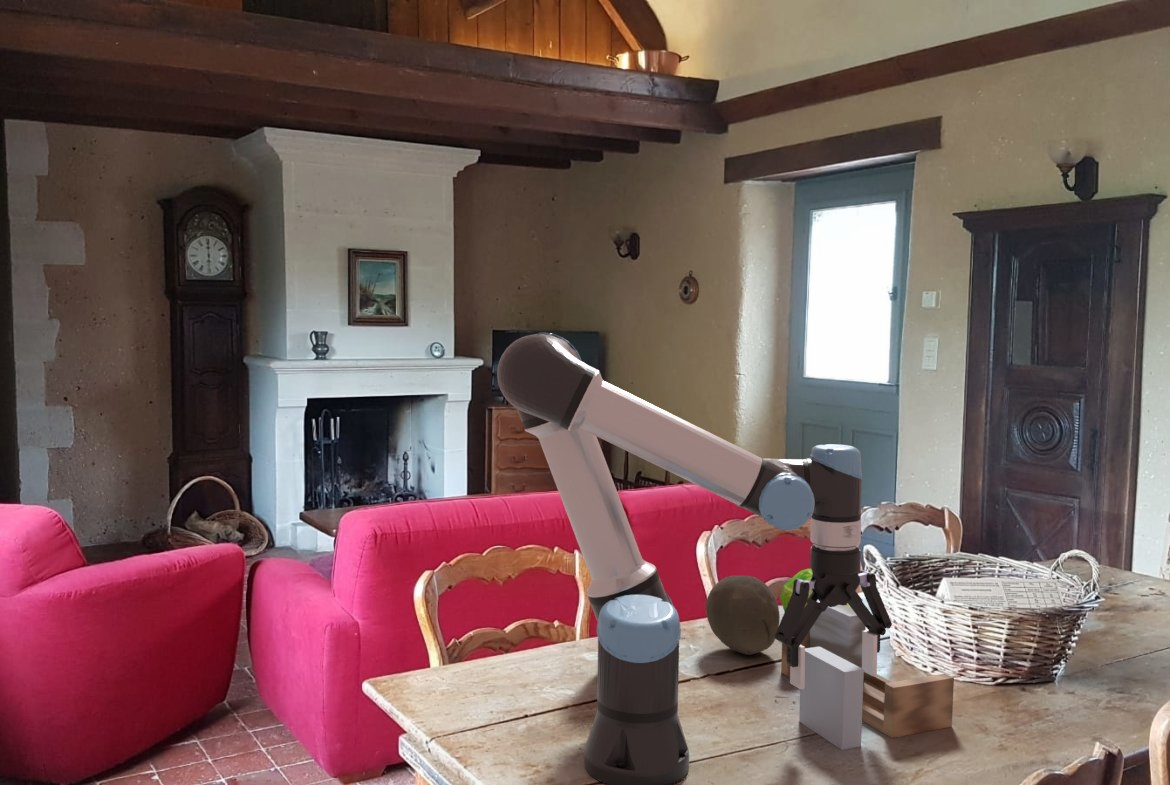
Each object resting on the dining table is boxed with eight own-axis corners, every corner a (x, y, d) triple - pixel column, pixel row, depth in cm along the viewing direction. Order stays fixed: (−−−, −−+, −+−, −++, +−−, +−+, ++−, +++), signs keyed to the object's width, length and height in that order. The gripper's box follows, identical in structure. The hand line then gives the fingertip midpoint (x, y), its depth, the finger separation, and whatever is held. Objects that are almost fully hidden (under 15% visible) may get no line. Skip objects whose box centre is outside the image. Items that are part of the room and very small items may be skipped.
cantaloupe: (775, 642, 195) (777, 568, 194) (781, 667, 181) (784, 588, 180) (704, 639, 197) (706, 566, 196) (705, 663, 183) (707, 585, 182)
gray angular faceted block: (842, 749, 147) (844, 672, 146) (799, 721, 157) (801, 649, 156) (861, 746, 148) (863, 669, 147) (817, 718, 158) (819, 646, 157)
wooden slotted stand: (891, 738, 151) (894, 649, 150) (781, 672, 178) (783, 597, 177) (951, 726, 155) (955, 640, 154) (835, 664, 183) (837, 591, 182)
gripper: (781, 558, 142) (779, 700, 143) (916, 542, 151) (914, 675, 153) (753, 547, 149) (752, 683, 150) (884, 533, 158) (882, 660, 160)
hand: (833, 679), depth 152 cm, fingers open, 13 cm apart
